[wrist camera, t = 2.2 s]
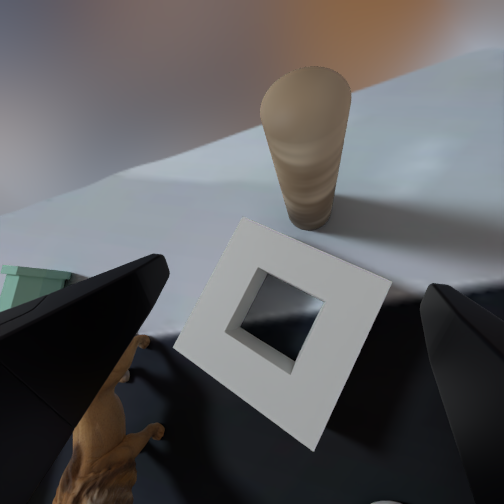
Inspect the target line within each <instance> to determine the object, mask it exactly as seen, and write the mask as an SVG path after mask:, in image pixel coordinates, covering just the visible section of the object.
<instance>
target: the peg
mask: <svg viewBox="0 0 504 504" xmlns="http://www.w3.org/2000/svg"><path fill="white" fill-rule="evenodd" d="M350 105H351V90H350V87H349V85H348V83H347V81H346V80H345V79H344V78H343V76H341V75H340V74H339V73H338V72H336V71H334V70H331V69H329V68H325V67H318V66H317V67H315V66H314V67H304V68H300V69H297V70H294V71H292V72H289V73H287V74H286V75H284V76H282V77H281V78H279V80H277V81H276V82H275V83H274V84H273V85H272V86H271V87H270V88H269V89H268V91H267V93H266V94H265V96H264V98H263V100H262V103H261V108H260V116H261V121H262V125H263V128H264V132H265V135H266V139H267V142H268V145H269V149H270V152H271V156H272V159H273V163H274V166H275V170H276V173H277V177H278V180H279V184H280V187H281V191H282V194H283V198H284V201H285V205H286V208H287V212H288V215H289V218H290V220H291V222H292V223H293V224H294V225H295V226H296V227H298V228H300V229H303V230H314V229H317V228H320V227H321V226H323V225H324V224H325V223H326V222H327V221H328V219H329V217H330V214H331V209H332V204H333V198H334V193H335V187H336V182H337V176H338V171H339V165H340V160H341V154H342V149H343V143H344V138H345V132H346V127H347V121H348V116H349V110H350Z"/></svg>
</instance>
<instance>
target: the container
mask: <svg viewBox="0 0 504 504" xmlns="http://www.w3.org/2000/svg"><path fill="white" fill-rule="evenodd" d="M1 273H3V274H7V275H6V279H5V282H4V286H3V289H2V293H1V296H0V312H1V311H4V310H7V309H10V308H13V307H15V306H18V305H21V304H23V303H26V302H29V301H31V300H34V299H37V298H39V297H42V296H44V295H47V294H48V295H49V294H50V293H52V292H55V291H57V290H60V289H63V288H64V284H65V280H66V279H70V277H71V272H65V271H57V270H48V269H38V268H29V267H19V266H7V265H3V266H2V270H1Z"/></svg>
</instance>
